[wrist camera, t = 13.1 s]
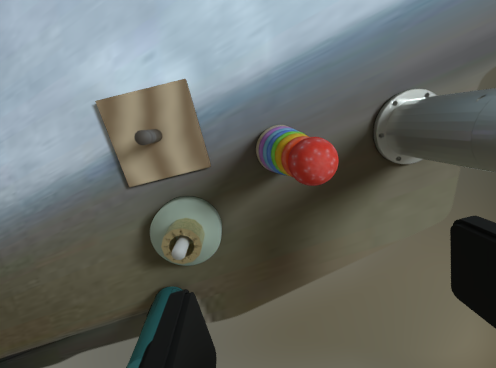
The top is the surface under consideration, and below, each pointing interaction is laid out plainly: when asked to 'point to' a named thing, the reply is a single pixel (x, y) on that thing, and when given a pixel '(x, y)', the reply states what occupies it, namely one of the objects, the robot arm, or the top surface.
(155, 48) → the top surface
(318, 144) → the stacking toy
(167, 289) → the beverage bottle
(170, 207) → the sage hub
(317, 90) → the top surface
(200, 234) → the brass ring
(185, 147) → the oak stand
